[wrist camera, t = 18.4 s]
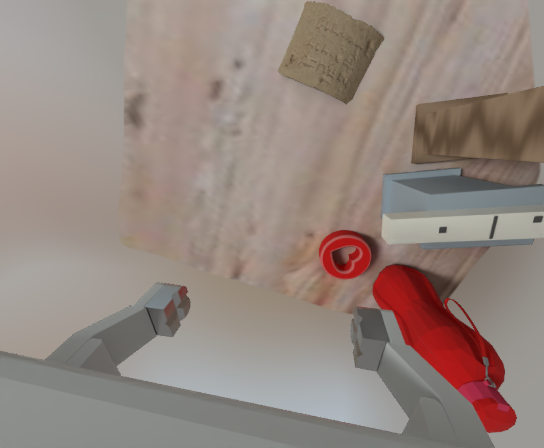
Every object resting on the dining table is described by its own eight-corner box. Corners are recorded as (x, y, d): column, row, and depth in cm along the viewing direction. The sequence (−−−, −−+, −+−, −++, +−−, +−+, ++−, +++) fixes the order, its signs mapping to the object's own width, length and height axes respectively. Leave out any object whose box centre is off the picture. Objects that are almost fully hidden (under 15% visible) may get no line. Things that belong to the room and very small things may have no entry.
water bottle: (433, 264, 44) (585, 398, 21) (405, 306, 48) (509, 459, 25) (389, 250, 44) (492, 368, 21) (365, 293, 48) (430, 434, 25)
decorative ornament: (321, 228, 45) (323, 234, 42) (371, 231, 44) (376, 237, 41) (316, 270, 48) (318, 278, 45) (363, 273, 47) (367, 282, 44)
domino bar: (383, 213, 27) (391, 220, 25) (585, 201, 24) (615, 208, 22) (381, 236, 28) (389, 244, 26) (575, 227, 25) (604, 236, 23)
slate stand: (383, 174, 40) (430, 190, 26) (457, 167, 38) (551, 181, 24) (381, 217, 42) (422, 253, 28) (450, 212, 41) (531, 248, 27)
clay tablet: (385, 40, 34) (393, 31, 31) (352, 109, 37) (356, 106, 35) (298, 0, 33) (298, -12, 31) (273, 74, 37) (271, 68, 34)
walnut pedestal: (416, 105, 36) (673, 21, 11) (500, 94, 34) (1008, -31, 10) (411, 163, 39) (606, 194, 14) (488, 155, 37) (857, 176, 13)
